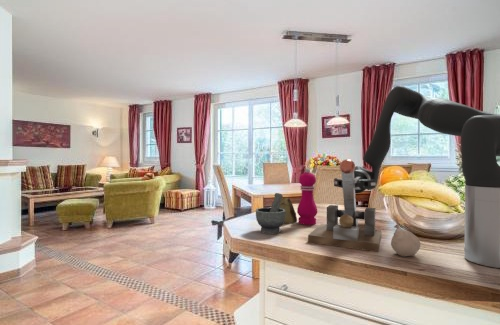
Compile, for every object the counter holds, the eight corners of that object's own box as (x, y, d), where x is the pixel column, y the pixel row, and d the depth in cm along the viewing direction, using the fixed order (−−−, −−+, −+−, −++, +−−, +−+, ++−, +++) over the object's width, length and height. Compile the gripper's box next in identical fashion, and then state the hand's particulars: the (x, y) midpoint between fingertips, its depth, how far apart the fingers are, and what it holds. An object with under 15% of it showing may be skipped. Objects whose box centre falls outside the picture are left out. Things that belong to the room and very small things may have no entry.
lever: (365, 223, 87) (362, 156, 78) (363, 240, 81) (359, 170, 72) (339, 220, 90) (333, 156, 81) (335, 236, 84) (328, 169, 75)
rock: (261, 216, 106) (283, 216, 100) (267, 197, 110) (288, 196, 104) (275, 229, 112) (297, 230, 106) (280, 211, 116) (301, 210, 110)
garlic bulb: (386, 250, 74) (386, 219, 73) (412, 251, 73) (413, 220, 73) (396, 259, 67) (397, 225, 67) (426, 260, 66) (426, 226, 66)
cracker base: (381, 236, 87) (381, 206, 87) (378, 252, 72) (378, 216, 72) (321, 229, 95) (321, 202, 95) (307, 242, 80) (307, 210, 80)
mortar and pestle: (274, 237, 86) (274, 196, 86) (249, 232, 92) (249, 194, 92) (292, 229, 95) (292, 193, 95) (268, 225, 101) (269, 191, 101)
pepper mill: (320, 222, 106) (320, 168, 106) (313, 226, 100) (313, 168, 100) (301, 220, 110) (302, 167, 110) (294, 223, 104) (294, 168, 104)
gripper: (337, 169, 101) (326, 171, 86) (379, 170, 95) (374, 173, 80) (337, 191, 101) (326, 197, 86) (378, 193, 95) (374, 200, 80)
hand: (349, 185), depth 83 cm, fingers closed
